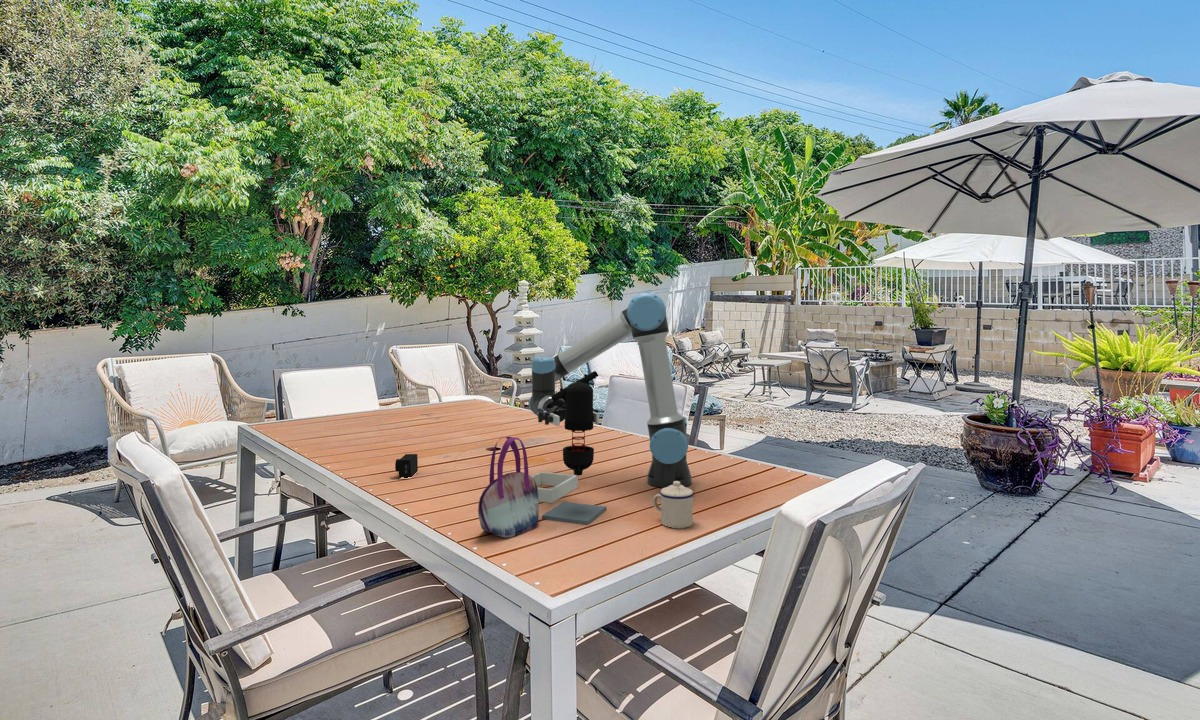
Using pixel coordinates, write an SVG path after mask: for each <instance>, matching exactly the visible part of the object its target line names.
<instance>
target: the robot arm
mask: <svg viewBox="0 0 1200 720" xmlns="http://www.w3.org/2000/svg"><path fill="white" fill-rule="evenodd" d="M668 334H670V330H669V323H668V317H667V308H666V305H665V302H664V300H663V299H662V297H660V296H659V295H657V293H654V292H648V291H647V292H641V293H638V294H636V295H635V296H633V298H632V299H630V301H629V303H628V305H627V308H625V309H624V310H622V311H621V312H620V315H619V316H618V317H617V318H615V319H613V320H611V321H610V322H609V323H607V324H605V325H604V326H601V327H600V328H599V329H597V330H596V331H594V332H593V333H591V334H589V335H588V336H586V337H584V338H583V339H580V341H578V342H576V343H574V344H572V345H570V347H568V348H567V349H565V350H564V351H562V352H560V353H558V354H557V355H555V356H553V357H551V356H537V357H534V358H532V360H531V368H530V369H531V387H532V390H531V396H530V398H529V400H528V406H529V407H528V408H529V409H530V411H531V412H532V413H533V414H534V415H536V416H537V422H538V423H543V422H544V425H545V426H546V425H547V426H548V425H550V424H552V425H554V426H556V427H560V426H561V425H560V423H561V422H563V421H565V401H564V400H563V399H561V398H560V399H559V400H556V401H555V402H554V401H553V400H552V398H551V396H553V394H555V393H556V382H558V381H561V380H562V378H564V377H566V376H568V375H569V374H570V373H572V372H574V371H575V370H577V369H578V368H580V367H582V366H584V365H585V364H587V363H589V362H590V361H592V360H593V359H595V358H597V357H598V356H600V355H602V354H603V353H606V351H608V350H610V349H612V348H613V347H615V346H616V345H618V344H619V343H621V342H623V341H625V340H626V339H628V338H629V337H632V339H633V340H634V341H635V342H637V343H638V349H639V353H640V360H641V365H642V366H641V367H642V371H643V372H642V373H643V379H644V385H645V390H646V396H647V402H648V409H649V414H650V417H649V418H648V421H647V423H646V425H647V429H648V436H649V449H650V453H651V464H650V465H649V466H650V467H649V469H648V471H647V472H648V473H647V476H646V480H647V481H646V482H648V483H647V484H648V485H650V486H652V485H653V487H656V486H657V487H656V488H662V487H663V488H665V487H668V486H670V485H673V482H674V481H679V482H680V485H683V486H684V487H685V486H686V487H688V485H689V486H691V484H693V483H692V479H693V478H692V477H693V476H692V473H691V471H690V468H689V465H688V461H687V452H688V449H689V441H688V435H687V429H688V428H687V427H688V423H687V418H686V417H685V416H683V415H681V414H680V413H679V412H678V407H677V402H676V401H677V400H676V395H675V388H674V383H673V377H672V372H671V366H670V359H669V353H668V348H667V342H666V341H667V340H666V337H667V336H668ZM593 418H594V420H593V423H594V424H600V413H599V409H595V408H594V407H593ZM663 488H662V489H663Z"/></svg>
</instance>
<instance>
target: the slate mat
mask: <svg viewBox="0 0 1200 720" xmlns="http://www.w3.org/2000/svg"><path fill="white" fill-rule="evenodd" d="M604 511H605V512H606V511H607V506H604V505H596V504H588V503H587V504H585V503H579V502H578V503H577V502H570V501H569V502H568V501H563V502H562V501H561V502H560V503H559V504H558V505H556V506H554V507H553V508H552V509H550V510H548V511H547V512H544V514H542V515H541V519H542V520H547V521H554V522H564V523H571V524H579V525H585V526H586V525H589V524H590V523H592V522H593V521H595V520H596V519H597V518H598V517H600V516H601V515H602V514H603V513H605V512H604Z"/></svg>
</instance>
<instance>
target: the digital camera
mask: <svg viewBox="0 0 1200 720" xmlns="http://www.w3.org/2000/svg"><path fill="white" fill-rule="evenodd" d="M418 464H419V462H418V453H405V454H404V455H403V456H402V457H400V458H396V460H395V463H394V469H395V472H397V473H398V479H399V478H401V477H404V478H408V477H412V476H413V475H414V474H415V473H416V472H417V471H418V472H419V470H418V469H419V467H418V466H419V465H418ZM418 472H417V473H418ZM417 473H416V474H417Z"/></svg>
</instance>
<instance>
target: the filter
mask: <svg viewBox="0 0 1200 720" xmlns="http://www.w3.org/2000/svg"><path fill="white" fill-rule="evenodd" d="M597 377H599V374H598V372H597V370H593V371H592V372H589V373H588V374H586V373H584V375H583V377H581V378H580V379H578V380H576V381H573V382H571V383H570V384H568V385H567V386H566V387H564V388H563V387H561V388H559V390H558V391H557V392H555V394H553V396H551V398H552V400H553V401H554V402H555V401H556V400H559V399H562V400H563V401H565V419H564V424H563V425H564V429H565V430H566V431H571V445H568V446H565V447H563V448H562V460H563V464H564V465H565V467H567V468H568V469H569V470H571V471H573V475H577V476H578V477H579V476H583V471H585V470H587V469H589V468H590V467H591V465H592V464H593V463H594V457H595V456H594V455H595V449H594V447H591V446H587V445H586V444H585V443H586V435H585V432H586V431H591V430H593V429H594V424H595V422H593V420H594V418H593V408H594V389H593V387H592V386H591V385H590V382H591V381H594V380H596V379H597ZM582 433H583V436H580V435H579V436H578V435H577V436H574V435H573V434H582ZM574 440H576V441H580V440H583V443H580V442H576V443H575V442H574Z"/></svg>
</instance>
